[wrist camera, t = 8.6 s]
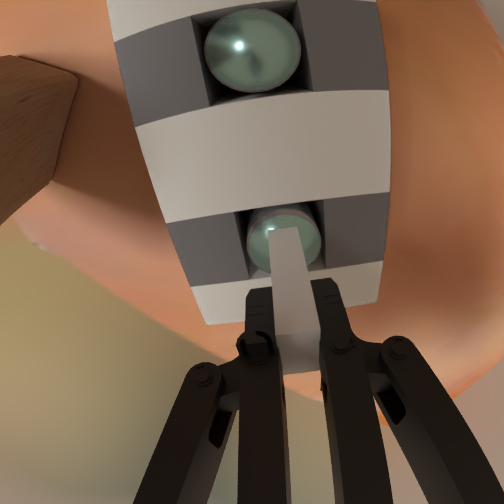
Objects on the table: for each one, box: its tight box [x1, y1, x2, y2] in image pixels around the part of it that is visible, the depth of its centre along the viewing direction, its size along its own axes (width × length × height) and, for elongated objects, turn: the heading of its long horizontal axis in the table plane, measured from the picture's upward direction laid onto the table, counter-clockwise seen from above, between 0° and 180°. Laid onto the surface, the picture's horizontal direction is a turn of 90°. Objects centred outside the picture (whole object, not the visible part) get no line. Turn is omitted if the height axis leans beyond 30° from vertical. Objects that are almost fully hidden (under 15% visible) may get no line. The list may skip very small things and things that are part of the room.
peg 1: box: [204, 8, 301, 93], centre depth 12 cm, size 4×4×7 cm
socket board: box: [106, 0, 391, 325], centre depth 16 cm, size 22×12×7 cm, turn 10°
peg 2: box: [247, 201, 321, 274], centre depth 18 cm, size 4×4×7 cm
